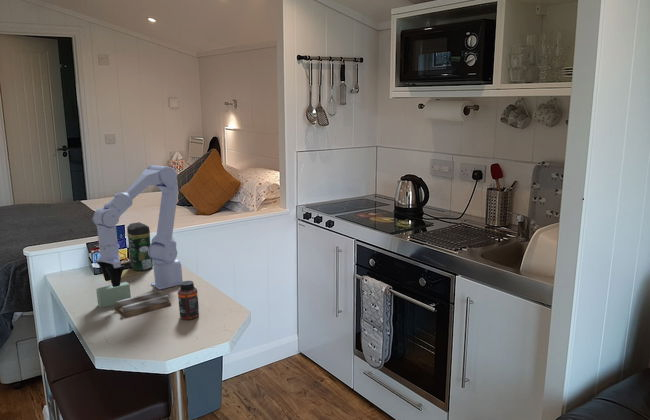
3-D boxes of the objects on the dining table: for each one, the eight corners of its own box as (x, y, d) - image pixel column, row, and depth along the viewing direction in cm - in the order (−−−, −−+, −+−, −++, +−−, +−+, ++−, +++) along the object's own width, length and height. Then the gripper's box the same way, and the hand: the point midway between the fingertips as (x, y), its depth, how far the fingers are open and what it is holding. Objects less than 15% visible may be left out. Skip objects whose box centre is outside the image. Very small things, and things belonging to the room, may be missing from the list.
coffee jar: (128, 266, 216) (124, 223, 212) (147, 263, 220) (143, 220, 216) (135, 272, 208) (131, 227, 204) (155, 268, 213) (151, 224, 209)
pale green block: (128, 298, 182) (126, 281, 181) (131, 300, 180) (129, 283, 179) (98, 305, 176) (96, 288, 175) (100, 308, 174) (98, 291, 172)
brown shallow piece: (159, 296, 182) (158, 289, 182) (171, 305, 175) (170, 297, 174) (115, 308, 173) (114, 300, 173) (125, 317, 166) (124, 309, 165)
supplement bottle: (203, 314, 167) (200, 280, 165) (192, 321, 162) (189, 286, 159) (186, 311, 169) (184, 278, 167) (176, 319, 164) (173, 284, 161)
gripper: (89, 242, 177) (93, 280, 179) (102, 251, 166) (107, 291, 168) (110, 238, 181) (114, 275, 184) (125, 247, 170) (129, 286, 173)
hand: (112, 283), depth 176 cm, fingers open, 7 cm apart
